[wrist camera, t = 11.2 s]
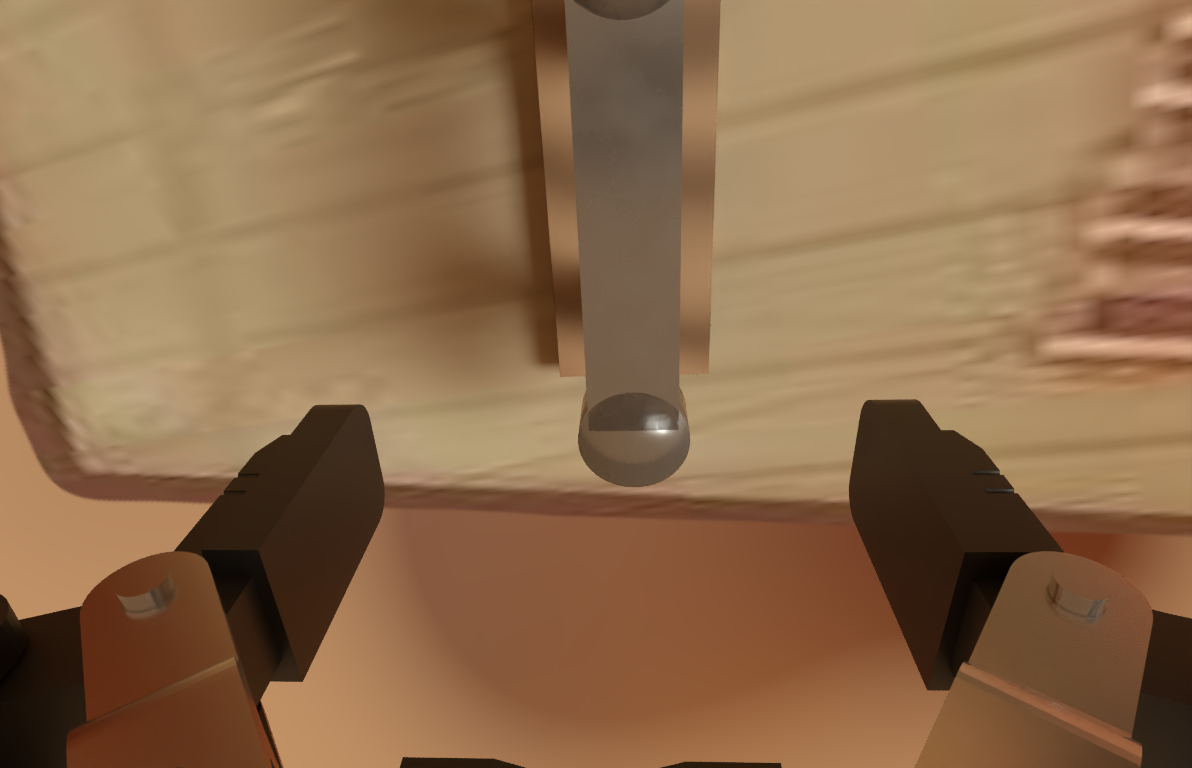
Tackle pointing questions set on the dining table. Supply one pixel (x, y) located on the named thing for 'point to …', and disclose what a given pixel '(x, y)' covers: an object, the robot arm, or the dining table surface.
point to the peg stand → (695, 180)
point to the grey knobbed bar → (629, 232)
